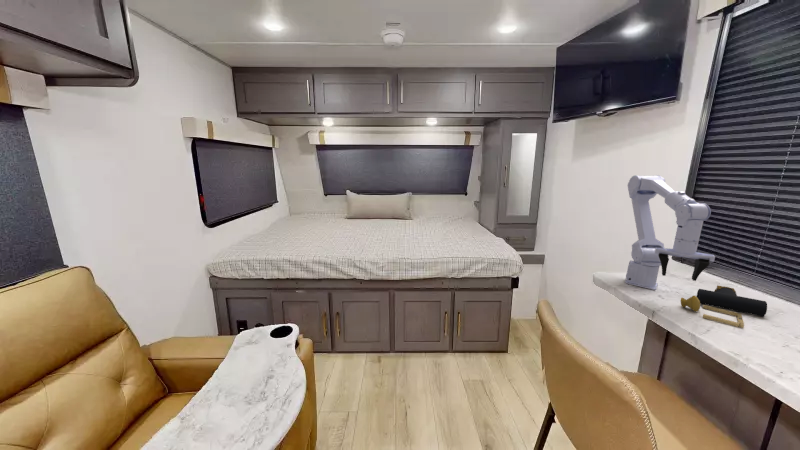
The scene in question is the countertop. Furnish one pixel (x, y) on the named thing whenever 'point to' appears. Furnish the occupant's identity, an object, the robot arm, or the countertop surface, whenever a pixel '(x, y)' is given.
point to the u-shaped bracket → (737, 324)
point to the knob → (691, 303)
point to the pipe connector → (731, 301)
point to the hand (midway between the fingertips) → (678, 277)
